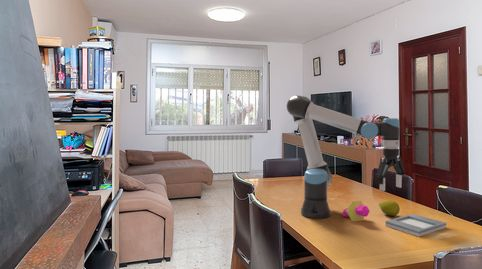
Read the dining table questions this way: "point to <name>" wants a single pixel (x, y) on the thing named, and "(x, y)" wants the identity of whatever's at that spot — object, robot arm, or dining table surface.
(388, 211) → the lemon
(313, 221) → the dining table surface
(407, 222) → the baseplate
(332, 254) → the dining table surface
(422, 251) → the dining table surface
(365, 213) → the toy
